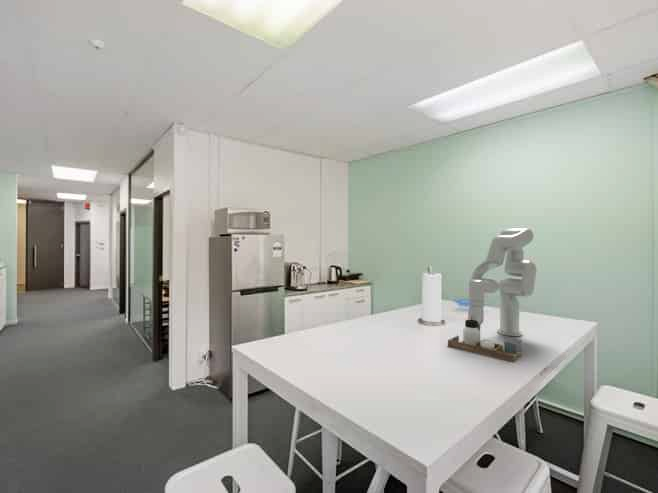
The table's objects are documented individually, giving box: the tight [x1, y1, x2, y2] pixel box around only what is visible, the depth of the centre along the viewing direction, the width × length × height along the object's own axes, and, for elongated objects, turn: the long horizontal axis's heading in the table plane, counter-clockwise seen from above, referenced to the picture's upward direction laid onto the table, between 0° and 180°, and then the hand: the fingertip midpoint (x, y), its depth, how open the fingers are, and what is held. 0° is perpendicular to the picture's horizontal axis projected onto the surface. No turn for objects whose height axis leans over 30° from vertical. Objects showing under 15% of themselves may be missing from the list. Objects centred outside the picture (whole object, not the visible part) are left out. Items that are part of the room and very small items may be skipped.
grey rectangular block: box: [503, 337, 523, 355], centre depth 150 cm, size 9×5×5 cm, turn 135°
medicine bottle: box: [462, 319, 481, 345], centre depth 162 cm, size 7×7×12 cm
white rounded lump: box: [480, 339, 496, 350], centre depth 150 cm, size 6×6×5 cm
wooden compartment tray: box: [447, 335, 522, 363], centre depth 151 cm, size 11×30×3 cm, turn 45°
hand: (476, 337), depth 168 cm, fingers closed
